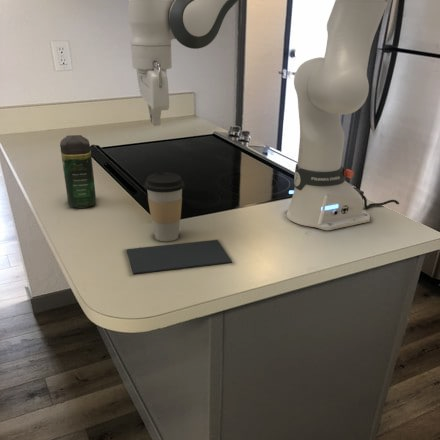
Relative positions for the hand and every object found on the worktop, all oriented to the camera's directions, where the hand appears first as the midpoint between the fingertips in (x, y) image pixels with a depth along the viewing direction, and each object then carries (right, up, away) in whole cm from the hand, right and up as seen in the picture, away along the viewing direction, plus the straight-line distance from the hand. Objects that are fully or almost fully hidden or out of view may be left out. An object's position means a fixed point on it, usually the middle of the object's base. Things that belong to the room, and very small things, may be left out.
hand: (155, 123), depth 115 cm
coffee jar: (-24, -15, +24) cm, 37 cm away
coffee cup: (+2, -26, +5) cm, 27 cm away
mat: (+6, -32, -4) cm, 33 cm away
